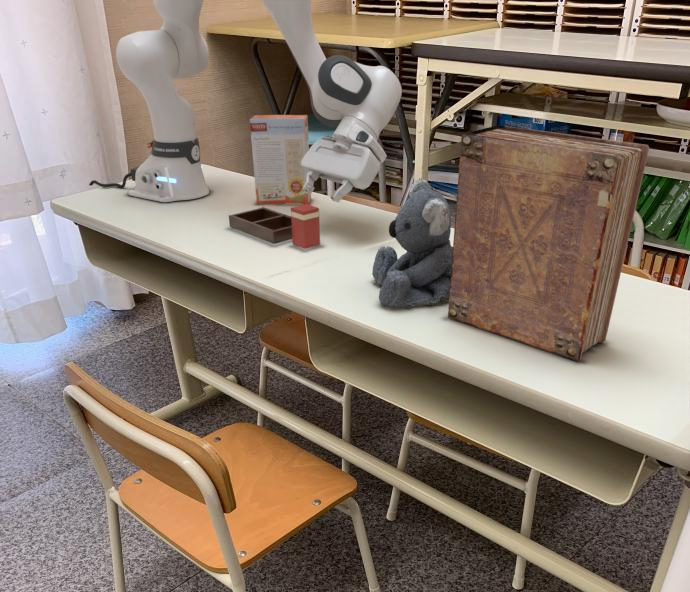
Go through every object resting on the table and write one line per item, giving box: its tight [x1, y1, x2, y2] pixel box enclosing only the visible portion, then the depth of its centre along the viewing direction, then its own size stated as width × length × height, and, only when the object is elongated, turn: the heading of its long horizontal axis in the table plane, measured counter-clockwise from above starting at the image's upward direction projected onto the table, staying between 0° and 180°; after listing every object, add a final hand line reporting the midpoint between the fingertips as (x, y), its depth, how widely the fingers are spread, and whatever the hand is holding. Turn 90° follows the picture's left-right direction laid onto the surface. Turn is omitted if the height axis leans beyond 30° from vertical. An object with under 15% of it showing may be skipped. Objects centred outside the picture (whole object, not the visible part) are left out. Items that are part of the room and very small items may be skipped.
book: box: [447, 124, 650, 363], centre depth 109 cm, size 25×9×30 cm, turn 47°
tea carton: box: [290, 204, 321, 249], centre depth 152 cm, size 4×4×8 cm
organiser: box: [228, 206, 292, 245], centre depth 162 cm, size 18×10×3 cm, turn 42°
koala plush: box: [371, 177, 453, 309], centre depth 126 cm, size 17×18×20 cm
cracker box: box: [249, 114, 312, 205], centre depth 179 cm, size 14×6×21 cm, turn 84°
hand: (320, 196), depth 151 cm, fingers open, 8 cm apart
